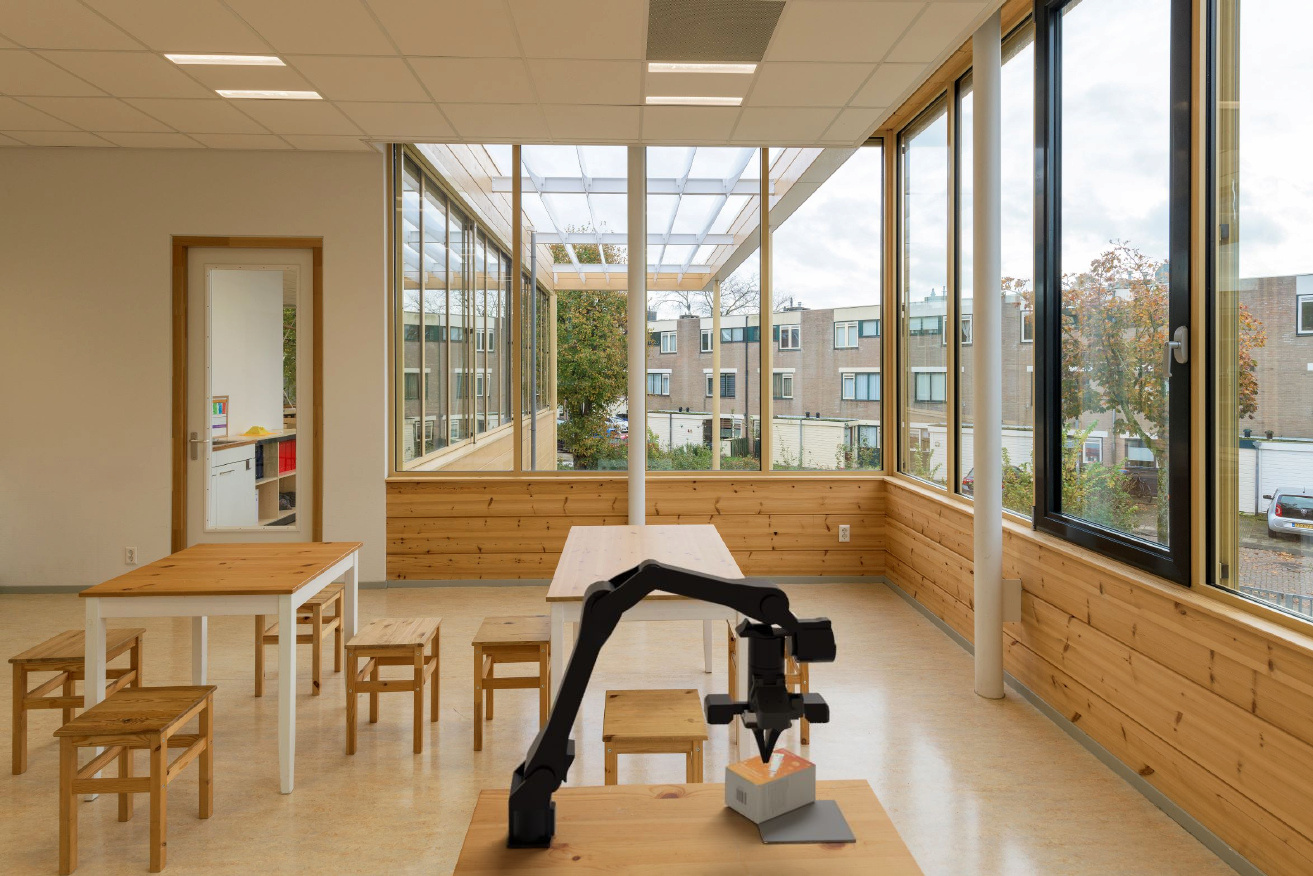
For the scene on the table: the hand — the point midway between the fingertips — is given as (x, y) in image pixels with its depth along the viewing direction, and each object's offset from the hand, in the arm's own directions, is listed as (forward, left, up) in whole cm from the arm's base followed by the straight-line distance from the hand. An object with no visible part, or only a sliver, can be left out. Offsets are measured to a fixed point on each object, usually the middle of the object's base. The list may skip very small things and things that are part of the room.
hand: (765, 762), depth 124 cm
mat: (+6, +1, -10) cm, 12 cm away
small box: (-4, +3, -6) cm, 8 cm away
